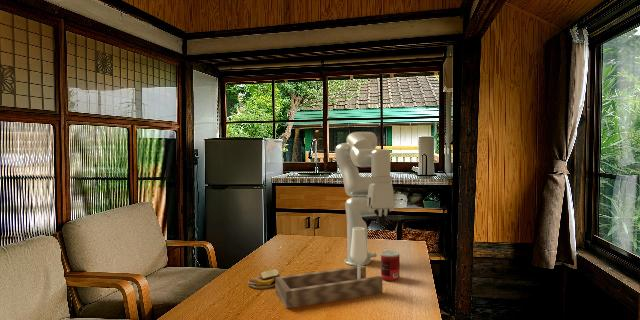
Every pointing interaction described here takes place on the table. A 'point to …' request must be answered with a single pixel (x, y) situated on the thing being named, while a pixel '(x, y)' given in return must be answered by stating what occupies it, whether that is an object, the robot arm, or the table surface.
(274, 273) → the toy sandwich meal
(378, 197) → the robot arm
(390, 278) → the canned food
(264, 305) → the table surface
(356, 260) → the champagne flute
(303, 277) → the walnut U-rest
